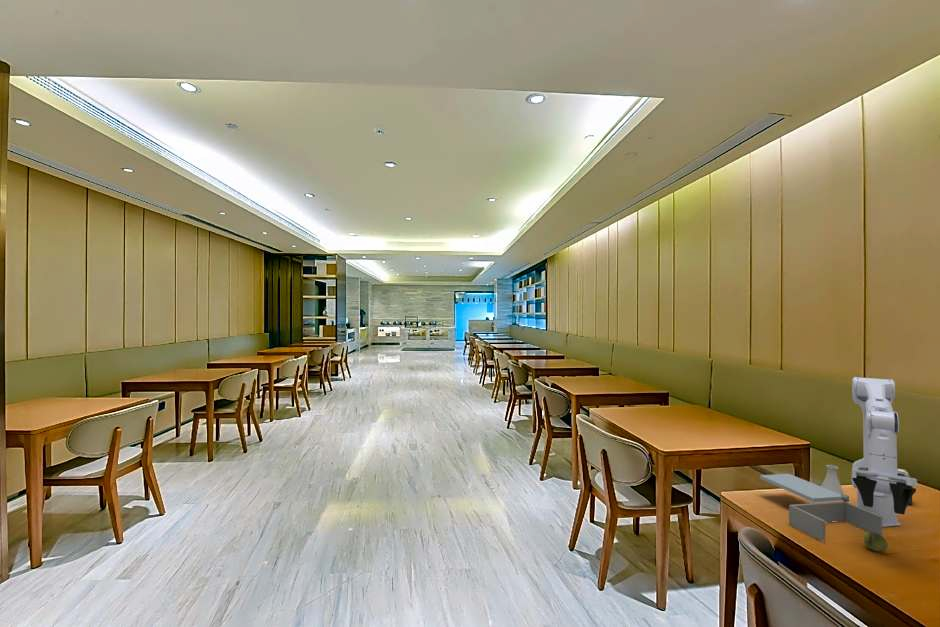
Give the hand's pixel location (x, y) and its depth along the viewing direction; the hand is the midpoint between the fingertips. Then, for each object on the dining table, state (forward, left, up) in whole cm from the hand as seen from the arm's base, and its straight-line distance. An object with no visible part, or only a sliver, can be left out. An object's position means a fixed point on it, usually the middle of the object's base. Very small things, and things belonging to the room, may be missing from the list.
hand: (883, 510), depth 117 cm
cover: (-7, -30, -6) cm, 31 cm away
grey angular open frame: (-2, -15, -13) cm, 19 cm away
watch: (-46, -30, -13) cm, 56 cm away
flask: (-28, -39, -13) cm, 50 cm away
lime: (-2, -4, -13) cm, 14 cm away
